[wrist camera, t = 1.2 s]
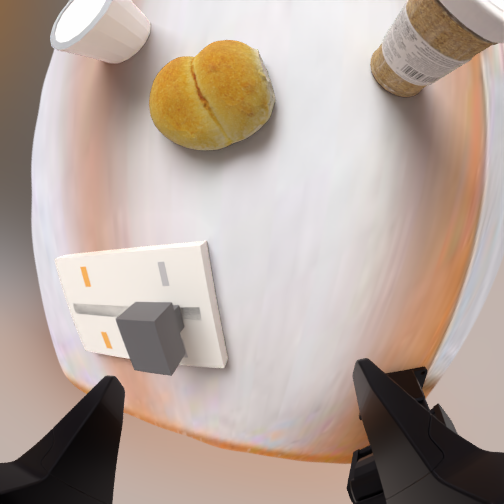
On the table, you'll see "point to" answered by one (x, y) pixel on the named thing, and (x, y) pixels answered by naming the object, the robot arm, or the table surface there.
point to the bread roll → (212, 96)
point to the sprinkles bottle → (435, 41)
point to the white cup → (101, 29)
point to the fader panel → (144, 296)
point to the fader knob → (153, 336)
